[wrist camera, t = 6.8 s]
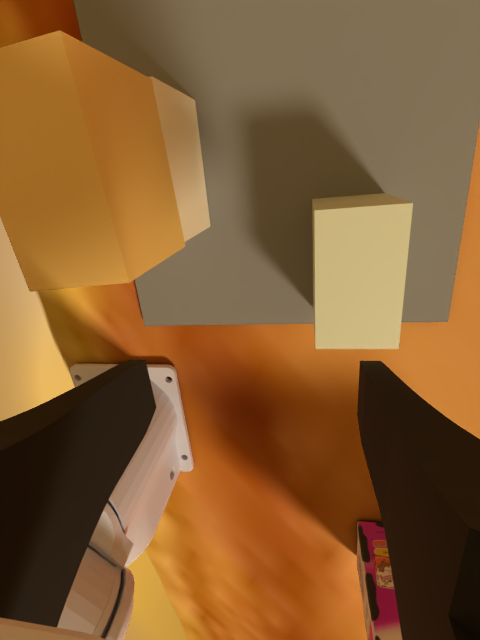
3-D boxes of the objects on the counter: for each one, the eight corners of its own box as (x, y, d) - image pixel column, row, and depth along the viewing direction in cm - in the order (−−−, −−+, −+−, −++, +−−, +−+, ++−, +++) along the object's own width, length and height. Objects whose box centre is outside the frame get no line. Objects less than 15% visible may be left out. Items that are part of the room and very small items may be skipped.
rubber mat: (445, 318, 19) (448, 321, 19) (147, 323, 23) (144, 325, 23) (516, -143, 12) (522, -153, 12) (69, -36, 16) (64, -41, 16)
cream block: (210, 226, 19) (179, 245, 15) (151, 230, 20) (105, 249, 15) (194, 99, 17) (152, 76, 12) (129, 109, 18) (66, 90, 13)
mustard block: (185, 246, 15) (129, 282, 10) (112, 254, 15) (29, 291, 11) (151, 79, 12) (60, 30, 8) (67, 98, 13) (-60, 65, 9)
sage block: (377, 306, 19) (398, 349, 15) (313, 307, 20) (315, 348, 16) (384, 192, 17) (413, 203, 13) (312, 198, 18) (314, 210, 13)
